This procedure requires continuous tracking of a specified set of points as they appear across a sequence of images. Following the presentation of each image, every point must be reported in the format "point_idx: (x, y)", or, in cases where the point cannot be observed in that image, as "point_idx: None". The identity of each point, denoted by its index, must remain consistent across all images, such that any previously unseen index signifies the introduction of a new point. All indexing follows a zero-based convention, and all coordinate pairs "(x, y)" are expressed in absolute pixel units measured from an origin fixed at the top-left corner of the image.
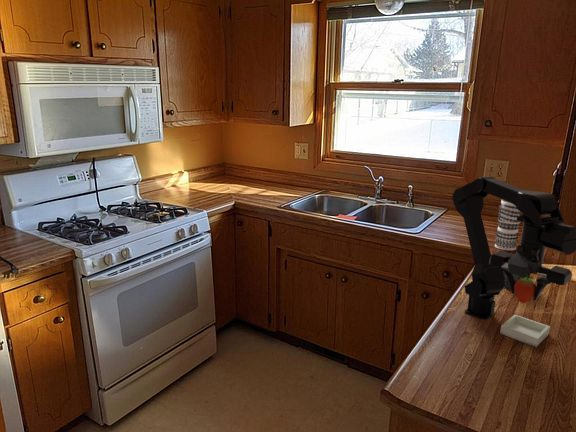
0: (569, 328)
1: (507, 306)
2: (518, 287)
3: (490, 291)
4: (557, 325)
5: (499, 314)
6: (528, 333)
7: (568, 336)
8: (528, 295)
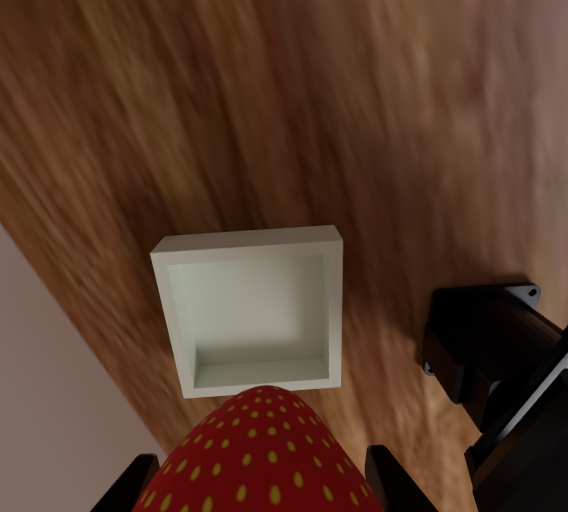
0: None
1: (399, 444)
2: None
3: (542, 414)
4: None
5: (400, 374)
6: (239, 309)
7: (141, 405)
8: (162, 475)
